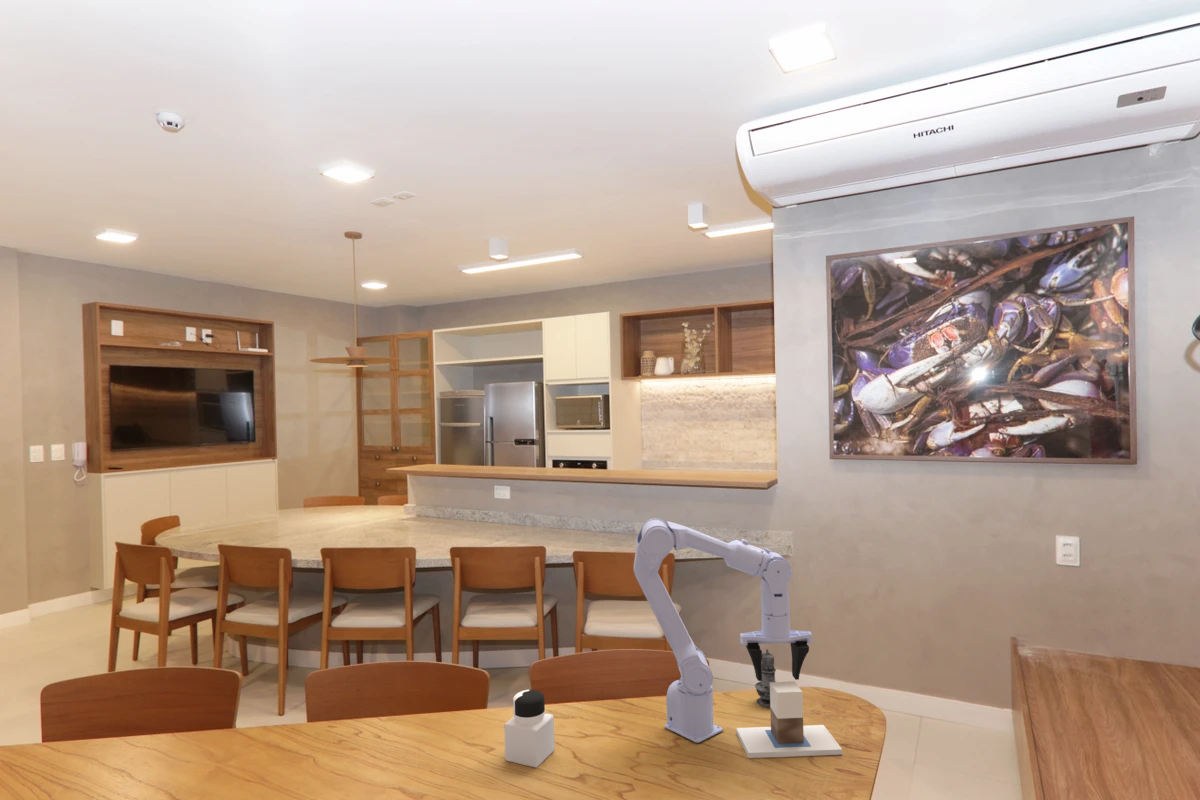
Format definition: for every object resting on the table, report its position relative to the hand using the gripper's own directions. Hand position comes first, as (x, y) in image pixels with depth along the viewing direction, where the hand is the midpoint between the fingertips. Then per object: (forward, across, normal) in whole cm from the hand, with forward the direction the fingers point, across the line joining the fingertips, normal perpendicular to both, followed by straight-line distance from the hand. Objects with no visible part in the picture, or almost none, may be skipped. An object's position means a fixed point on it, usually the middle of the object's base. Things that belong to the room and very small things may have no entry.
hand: (777, 678), depth 139 cm
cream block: (+4, 0, +6) cm, 7 cm away
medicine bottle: (+11, +51, +7) cm, 52 cm away
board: (+10, 0, +6) cm, 12 cm away
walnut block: (+9, 0, +6) cm, 11 cm away
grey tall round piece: (+11, -1, -13) cm, 17 cm away
